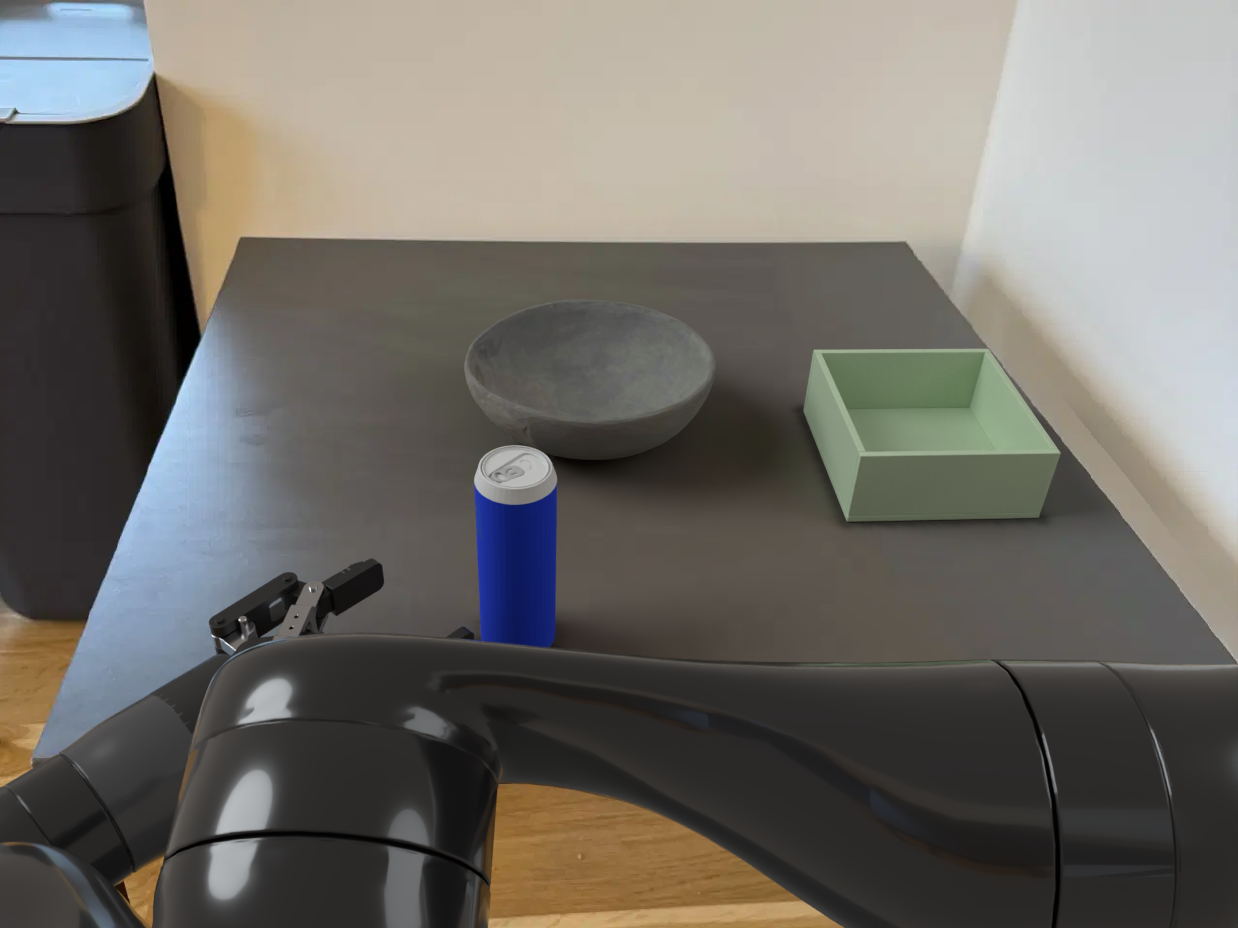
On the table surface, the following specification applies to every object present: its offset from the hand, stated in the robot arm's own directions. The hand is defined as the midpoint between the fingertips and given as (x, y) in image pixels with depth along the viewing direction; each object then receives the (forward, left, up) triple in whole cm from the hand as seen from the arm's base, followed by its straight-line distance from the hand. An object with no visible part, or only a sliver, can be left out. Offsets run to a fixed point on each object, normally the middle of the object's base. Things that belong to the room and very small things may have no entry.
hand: (423, 604), depth 67 cm
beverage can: (+1, -8, -9) cm, 12 cm away
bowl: (+16, -29, -9) cm, 35 cm away
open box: (-6, -48, -9) cm, 49 cm away
